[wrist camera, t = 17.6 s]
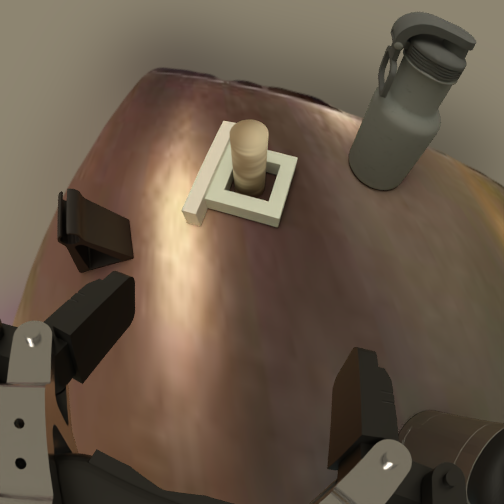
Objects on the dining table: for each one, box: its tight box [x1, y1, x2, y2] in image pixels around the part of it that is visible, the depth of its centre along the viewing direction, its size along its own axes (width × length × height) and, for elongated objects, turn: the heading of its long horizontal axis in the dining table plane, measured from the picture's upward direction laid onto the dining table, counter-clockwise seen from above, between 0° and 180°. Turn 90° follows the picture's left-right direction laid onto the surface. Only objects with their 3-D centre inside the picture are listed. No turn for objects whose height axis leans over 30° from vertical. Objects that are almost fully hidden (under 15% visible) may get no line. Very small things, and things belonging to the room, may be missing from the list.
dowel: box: [230, 120, 268, 198], centre depth 39 cm, size 4×4×12 cm
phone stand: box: [58, 189, 133, 273], centre depth 36 cm, size 9×6×12 cm, turn 105°
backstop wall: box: [182, 121, 236, 227], centre depth 43 cm, size 2×16×4 cm, turn 163°
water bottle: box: [349, 12, 476, 190], centre depth 33 cm, size 10×10×28 cm
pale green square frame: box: [205, 143, 298, 227], centre depth 43 cm, size 10×10×3 cm
